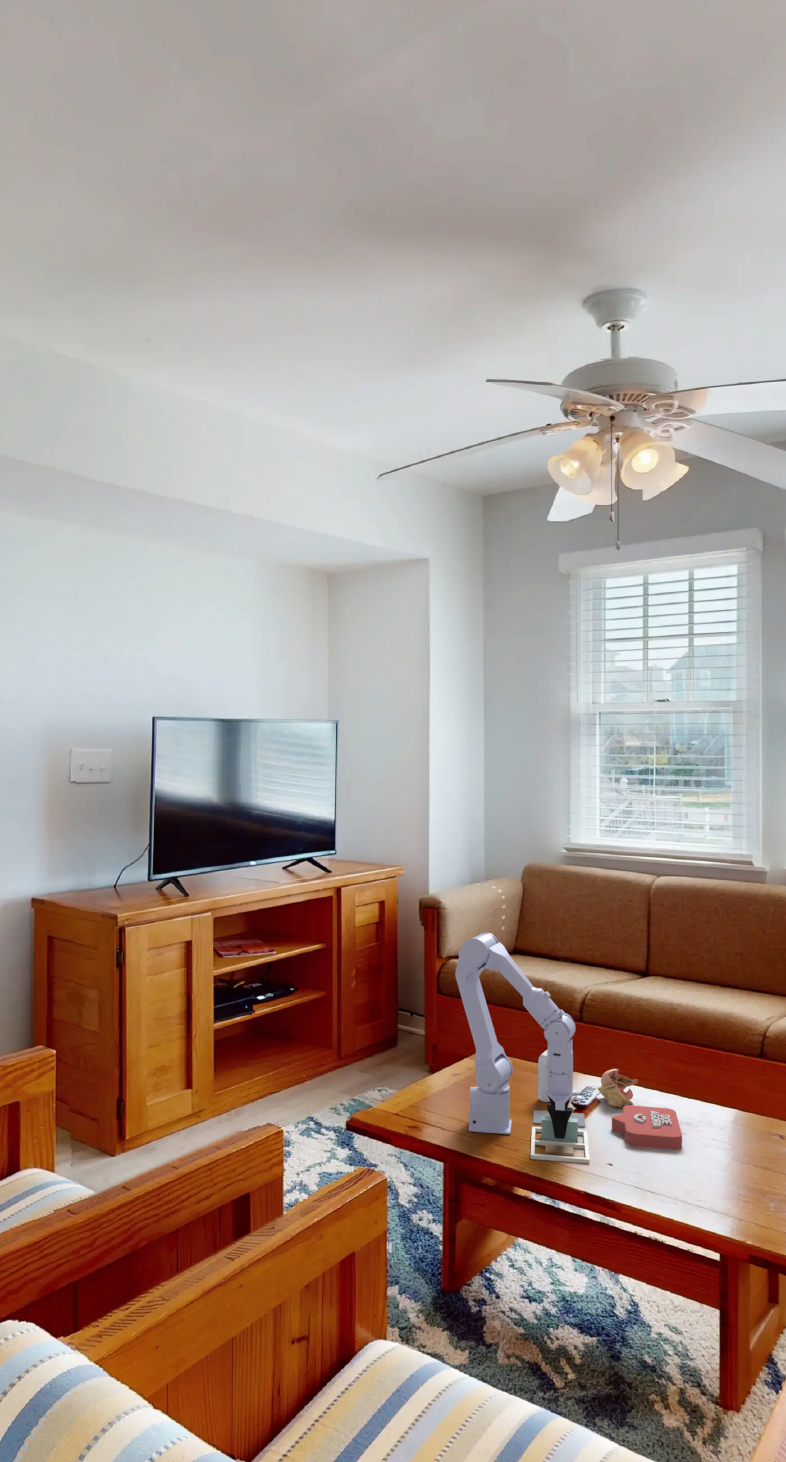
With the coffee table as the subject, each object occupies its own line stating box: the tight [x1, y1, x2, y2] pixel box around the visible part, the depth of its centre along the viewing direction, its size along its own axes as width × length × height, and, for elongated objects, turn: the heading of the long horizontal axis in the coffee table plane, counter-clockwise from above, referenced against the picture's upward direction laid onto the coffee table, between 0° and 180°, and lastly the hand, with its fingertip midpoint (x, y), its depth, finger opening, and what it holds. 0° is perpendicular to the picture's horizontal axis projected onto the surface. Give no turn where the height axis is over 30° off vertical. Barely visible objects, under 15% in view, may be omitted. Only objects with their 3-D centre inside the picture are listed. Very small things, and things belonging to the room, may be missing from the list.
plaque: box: [611, 1104, 683, 1151], centre depth 220 cm, size 18×4×15 cm
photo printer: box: [537, 1049, 551, 1103], centre depth 243 cm, size 10×4×12 cm, turn 134°
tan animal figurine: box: [597, 1068, 639, 1108], centre depth 239 cm, size 9×10×10 cm
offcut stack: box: [544, 1145, 575, 1157], centre depth 208 cm, size 6×4×2 cm, turn 80°
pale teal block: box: [540, 1116, 579, 1143], centre depth 216 cm, size 8×2×5 cm, turn 81°
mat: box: [532, 1109, 586, 1129], centre depth 227 cm, size 12×8×1 cm, turn 81°
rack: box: [530, 1126, 591, 1164], centre depth 212 cm, size 12×16×1 cm
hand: (559, 1131), depth 216 cm, fingers open, 7 cm apart
